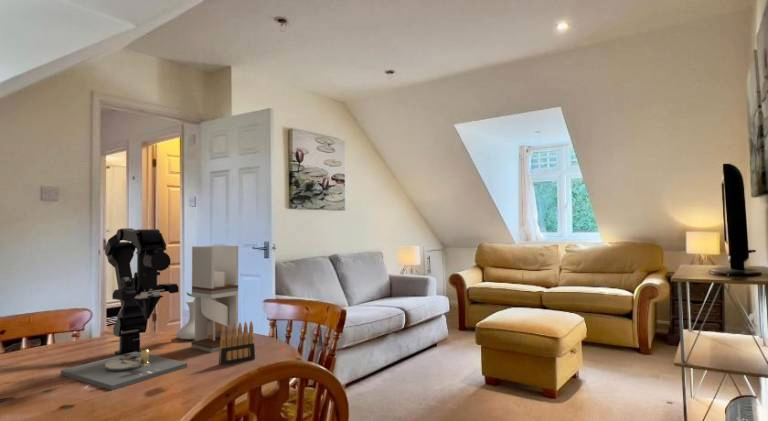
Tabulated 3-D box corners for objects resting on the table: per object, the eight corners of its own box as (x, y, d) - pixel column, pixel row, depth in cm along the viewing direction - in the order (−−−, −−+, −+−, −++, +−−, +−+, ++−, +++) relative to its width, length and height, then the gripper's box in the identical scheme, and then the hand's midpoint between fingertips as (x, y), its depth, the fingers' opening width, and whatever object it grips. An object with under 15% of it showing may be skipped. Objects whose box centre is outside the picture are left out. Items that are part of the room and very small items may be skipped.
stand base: (60, 374, 130) (60, 369, 130) (135, 355, 149) (135, 351, 149) (112, 390, 117) (112, 385, 117) (187, 366, 136) (187, 362, 136)
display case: (191, 347, 158) (192, 246, 159) (218, 340, 167) (218, 245, 168) (211, 352, 151) (211, 247, 153) (237, 345, 160) (238, 245, 161)
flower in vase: (176, 343, 164) (177, 273, 165) (175, 336, 174) (175, 270, 175) (215, 338, 170) (215, 271, 171) (211, 332, 180) (211, 269, 181)
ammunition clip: (220, 365, 137) (220, 325, 137) (218, 364, 138) (218, 324, 139) (255, 359, 143) (255, 321, 144) (252, 358, 145) (253, 320, 145)
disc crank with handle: (97, 367, 131) (98, 348, 131) (131, 358, 139) (131, 340, 140) (129, 375, 123) (130, 355, 124) (163, 365, 132) (163, 346, 132)
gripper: (159, 265, 155) (158, 311, 155) (102, 270, 139) (101, 321, 139) (180, 267, 150) (179, 314, 149) (123, 272, 134) (123, 325, 133)
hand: (146, 318), depth 143 cm, fingers closed
